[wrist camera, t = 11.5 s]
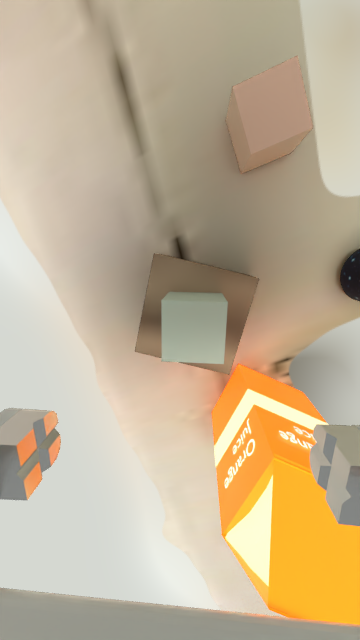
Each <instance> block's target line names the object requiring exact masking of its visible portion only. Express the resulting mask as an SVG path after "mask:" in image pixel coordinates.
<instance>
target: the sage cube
mask: <svg viewBox="0 0 360 640" xmlns="http://www.w3.org/2000/svg"><path fill="white" fill-rule="evenodd" d="M227 307H228V302H227V300H226V299H225V297H224V295H223V294H222V293H200V292H169V293H168V294H167V295H166V296H165V297H164V298H163V299H162V300H161V315H162V361H166V362H187V363H209V364H224V354H225V338H226V323H227Z"/></svg>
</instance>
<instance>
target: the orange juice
mask: <svg viewBox="0 0 360 640" xmlns="http://www.w3.org/2000/svg"><path fill="white" fill-rule="evenodd" d="M212 422H213V434H214V452H215V464H216V469H217V481H218V493H219V505H220V517H221V528H222V536H223V538H224V539H225V541H226V542H227V544H228V545H229V547H230V549H231V550H232V552H233V553H234V555H235V556H236V558H237V559H238V561H239V563H240V564H241V566H242V567H243V569H244V570H245V572H246V574H247V575H248V577H249V578H250V580H251V581H252V583H253V585H254V586H255V588H256V589H257V591H258V592H259V594H260V595H261V597H262V599H263V600H264V602H265V603H266V605H267V606H268V608H269V610H272V611H274V612H276V613H279V614H281V615H284V616H286V617H289V618H298V619H308V620H318V621H327V622H337V623H347V624H357V625H360V526H351V525H342V524H338V523H337V521H336V519H335V517H334V515H333V513H332V511H331V510H330V508H329V506H328V504H327V502H326V500H325V496H326V491H325V490H324V489H323V488H321V487H320V486H319V485H318V484H317V483H316V481H315V479H314V477H313V474H312V471H311V467H310V459H309V457H310V448H311V447H312V446H313V445H315V444H316V443H317V442H316V441H315V439H314V437H313V431H314V427H315V426H316V424H322V425H329V424H327V423H326V421H325V420H324V419H323V417H322V416H321V415H320V414H319V412H318V411H317V410H316V408H314V406H313V405H312V403H311V402H310V401H309V399H308V398H307V397H306V396H305V394H304V393H303V392H301V391H299V390H297V389H294V388H292V387H290V386H288V385H285V384H283V383H281V382H279V381H276V380H274V379H272V378H270V377H267V376H265V375H263V374H261V373H258V372H256V371H254V370H252V369H249V368H247V367H245V366H243V365H240V364H238V366H237V367H236V369H235V371H234V373H233V375H232V376H231V378H230V380H229V382H228V384H227V386H226V387H225V389H224V391H223V393H222V395H221V396H220V398H219V400H218V402H217V404H216V406H215V407H214V409H213V411H212Z"/></svg>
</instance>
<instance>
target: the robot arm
mask: <svg viewBox="0 0 360 640" xmlns="http://www.w3.org/2000/svg"><path fill="white" fill-rule="evenodd" d="M57 423H58V419H57V414H56V413H55V412H54V411H47V410H33V409H17V408H9V409H5V410H3V411H2V412H1V413H0V499H9V500H28V499H29V497H30V495H31V494H32V493H33V491H34V490H35V489H36V487H37V486H38V485H39V483H40V482H41V480H42V472H43V471H45V470H46V469H48V468H49V467H51V466H52V464H53V463H54V461H55V460H56V458H57V455H58V453H59V450H60V443H61V439H60V434H59V433H58V432H57V431H56V429H55V426H56V425H57ZM313 437H314V439H315V441H316V442H317V443H316V444H315V445H313V446H312V447H311V448H310V457H309V459H310V467H311V471H312V474H313V477H314V479H315V481H316V483H317V484H318V485H319V486H320V487H321V488H323V489H324V490H325V491H326V496H325V500H326V502H327V504H328V506H329V508H330V510H331V511H332V513H333V515H334V517H335V519H336V521H337V523H338V524H342V525H351V526H360V425H352V426H346V425H322V424H316V426H315V427H314V431H313ZM0 640H360V625H357V624H347V623H337V622H327V621H318V620H308V619H298V618H289V617H279V616H269V615H259V614H250V613H240V612H230V611H220V610H211V609H210V610H209V609H200V608H191V607H181V606H171V605H162V604H152V603H142V602H133V601H122V600H113V599H103V598H94V597H84V596H75V595H65V594H55V593H45V592H36V591H26V590H17V589H7V588H0Z"/></svg>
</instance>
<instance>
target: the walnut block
mask: <svg viewBox="0 0 360 640" xmlns="http://www.w3.org/2000/svg"><path fill="white" fill-rule="evenodd" d="M258 281H259V278H256V277H253V276H250V275H246V274H242V273H238V272H233V271H229V270H225V269H221V268H217V267H213V266H208V265H204V264H200V263H196V262H192V261H187V260H183V259H179V258H175V257H171V256H166V255H162V254H154V255H153V260H152V266H151V271H150V276H149V281H148V286H147V291H146V296H145V301H144V306H143V312H142V317H141V322H140V327H139V332H138V337H137V342H136V347H135V352H138V353H142V354H146V355H151V356H155V357H159V358H162V315H161V300H162V299H163V298H164V297H165V296H166V295H167V294H168V293H169V292H200V293H222V294H223V295H224V297H225V299H226V300H227V302H228V307H227V323H226V338H225V354H224V364H209V363H187V362H179V363H183V364H187V365H191V366H196V367H200V368H204V369H208V370H212V371H216V372H220V373H224V374H228V375H229V374H230V371H231V368H232V365H233V362H234V358H235V355H236V352H237V349H238V345H239V342H240V339H241V336H242V333H243V329H244V326H245V323H246V320H247V316H248V313H249V310H250V307H251V304H252V300H253V297H254V294H255V291H256V287H257V284H258Z"/></svg>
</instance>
